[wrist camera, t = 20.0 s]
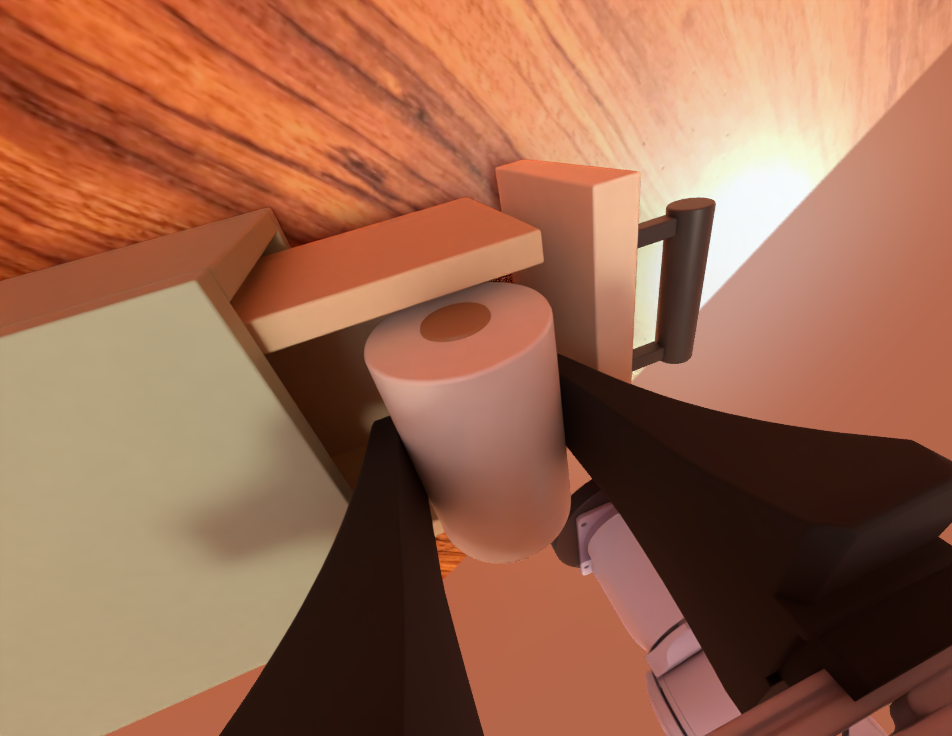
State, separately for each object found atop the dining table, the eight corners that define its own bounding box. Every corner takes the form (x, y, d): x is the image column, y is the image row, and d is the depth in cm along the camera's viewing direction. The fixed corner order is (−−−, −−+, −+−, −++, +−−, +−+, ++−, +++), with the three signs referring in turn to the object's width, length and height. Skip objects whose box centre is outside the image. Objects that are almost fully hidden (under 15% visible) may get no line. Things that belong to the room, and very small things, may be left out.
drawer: (641, 125, 14) (816, 117, 9) (631, 351, 20) (733, 425, 14) (157, 263, 11) (13, 362, 6) (310, 473, 17) (298, 611, 12)
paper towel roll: (332, 334, 9) (471, 266, 10) (417, 501, 12) (508, 432, 14) (422, 412, 6) (595, 299, 7) (497, 601, 10) (600, 497, 11)
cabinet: (270, 205, 12) (195, 279, 6) (388, 441, 19) (413, 598, 12) (-210, 338, 10) (-1096, 660, 4) (105, 548, 17) (-38, 798, 10)
